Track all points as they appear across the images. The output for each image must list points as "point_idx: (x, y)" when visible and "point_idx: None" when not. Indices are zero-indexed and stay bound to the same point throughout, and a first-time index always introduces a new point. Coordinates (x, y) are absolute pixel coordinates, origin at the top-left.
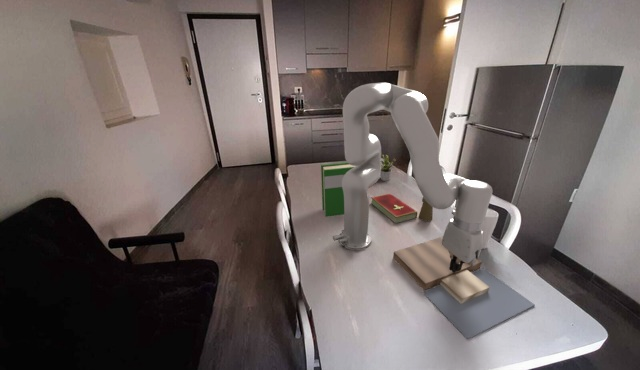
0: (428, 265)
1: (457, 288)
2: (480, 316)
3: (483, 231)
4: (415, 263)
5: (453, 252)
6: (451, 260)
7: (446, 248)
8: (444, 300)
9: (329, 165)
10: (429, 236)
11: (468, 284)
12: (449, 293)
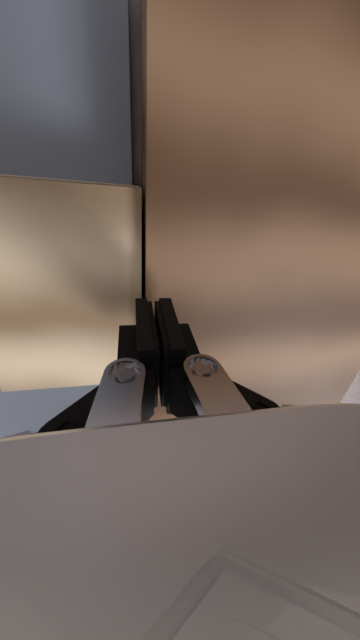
0: (274, 206)
1: (25, 227)
2: None
3: None
4: (353, 119)
5: (187, 457)
6: (183, 345)
7: (319, 415)
8: None
9: None
10: (356, 380)
11: (45, 317)
12: (49, 174)
